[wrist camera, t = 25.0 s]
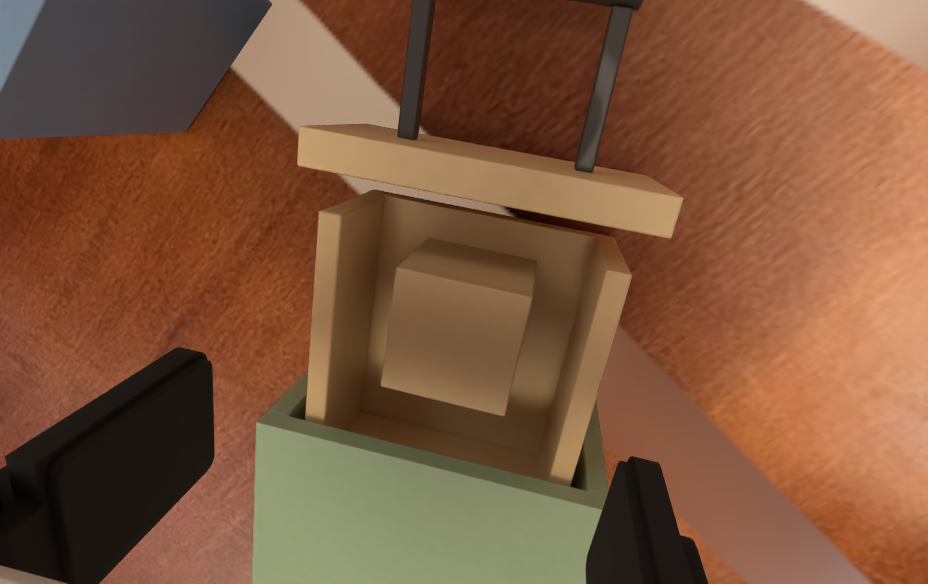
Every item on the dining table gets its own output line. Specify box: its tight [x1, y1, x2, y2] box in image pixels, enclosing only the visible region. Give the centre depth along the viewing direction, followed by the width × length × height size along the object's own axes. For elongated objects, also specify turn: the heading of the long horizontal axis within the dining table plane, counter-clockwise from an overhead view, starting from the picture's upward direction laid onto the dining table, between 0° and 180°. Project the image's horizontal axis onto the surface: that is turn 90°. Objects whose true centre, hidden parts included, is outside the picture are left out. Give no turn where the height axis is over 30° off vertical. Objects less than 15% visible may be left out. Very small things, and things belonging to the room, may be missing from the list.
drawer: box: [297, 0, 683, 487], centre depth 19 cm, size 20×11×6 cm, turn 170°
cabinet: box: [252, 371, 609, 584], centre depth 23 cm, size 15×13×8 cm
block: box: [381, 238, 537, 416], centre depth 19 cm, size 4×4×4 cm
